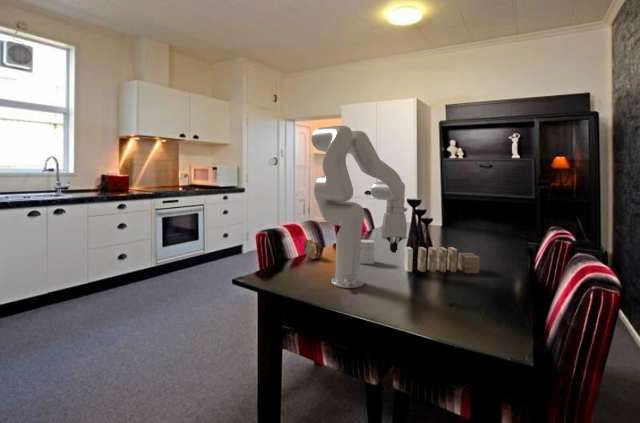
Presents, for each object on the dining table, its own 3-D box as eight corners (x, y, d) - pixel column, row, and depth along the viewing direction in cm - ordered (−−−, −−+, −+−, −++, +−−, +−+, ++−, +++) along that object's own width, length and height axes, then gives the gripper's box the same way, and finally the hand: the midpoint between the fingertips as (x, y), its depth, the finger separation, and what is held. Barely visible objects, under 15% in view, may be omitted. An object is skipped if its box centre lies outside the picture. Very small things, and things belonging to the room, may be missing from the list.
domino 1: (408, 268, 163) (409, 246, 162) (411, 271, 158) (412, 249, 157) (404, 268, 163) (405, 246, 162) (407, 271, 158) (408, 249, 157)
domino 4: (441, 268, 164) (442, 247, 163) (445, 271, 159) (447, 249, 158) (437, 268, 164) (438, 247, 162) (441, 271, 159) (442, 249, 157)
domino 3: (431, 268, 164) (432, 247, 162) (435, 271, 159) (436, 249, 157) (427, 268, 163) (428, 246, 162) (431, 271, 158) (432, 249, 157)
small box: (373, 261, 175) (374, 239, 174) (373, 264, 170) (374, 242, 168) (356, 260, 176) (357, 239, 175) (356, 263, 171) (357, 241, 169)
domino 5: (451, 268, 164) (452, 247, 163) (455, 272, 159) (457, 249, 158) (447, 268, 164) (448, 247, 163) (451, 272, 159) (452, 249, 158)
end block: (478, 273, 158) (479, 257, 157) (465, 272, 158) (466, 257, 157) (470, 268, 166) (471, 253, 165) (457, 267, 165) (458, 252, 165)
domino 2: (421, 268, 163) (422, 246, 162) (425, 271, 158) (426, 249, 157) (417, 268, 163) (418, 246, 162) (420, 271, 158) (422, 249, 157)
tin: (303, 254, 188) (303, 238, 187) (309, 253, 189) (309, 237, 188) (315, 261, 174) (315, 243, 173) (321, 260, 176) (321, 243, 175)
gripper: (409, 209, 161) (407, 250, 163) (376, 209, 161) (375, 250, 163) (414, 211, 154) (412, 254, 156) (379, 211, 153) (378, 254, 155)
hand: (393, 251), depth 159 cm, fingers closed
